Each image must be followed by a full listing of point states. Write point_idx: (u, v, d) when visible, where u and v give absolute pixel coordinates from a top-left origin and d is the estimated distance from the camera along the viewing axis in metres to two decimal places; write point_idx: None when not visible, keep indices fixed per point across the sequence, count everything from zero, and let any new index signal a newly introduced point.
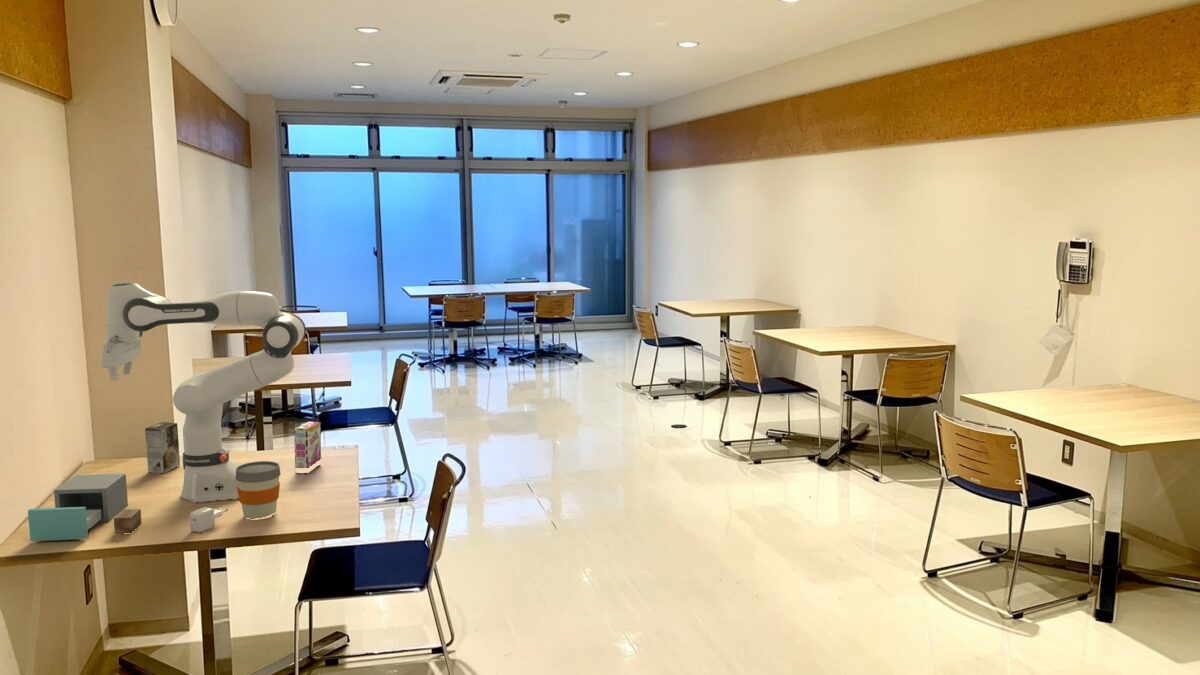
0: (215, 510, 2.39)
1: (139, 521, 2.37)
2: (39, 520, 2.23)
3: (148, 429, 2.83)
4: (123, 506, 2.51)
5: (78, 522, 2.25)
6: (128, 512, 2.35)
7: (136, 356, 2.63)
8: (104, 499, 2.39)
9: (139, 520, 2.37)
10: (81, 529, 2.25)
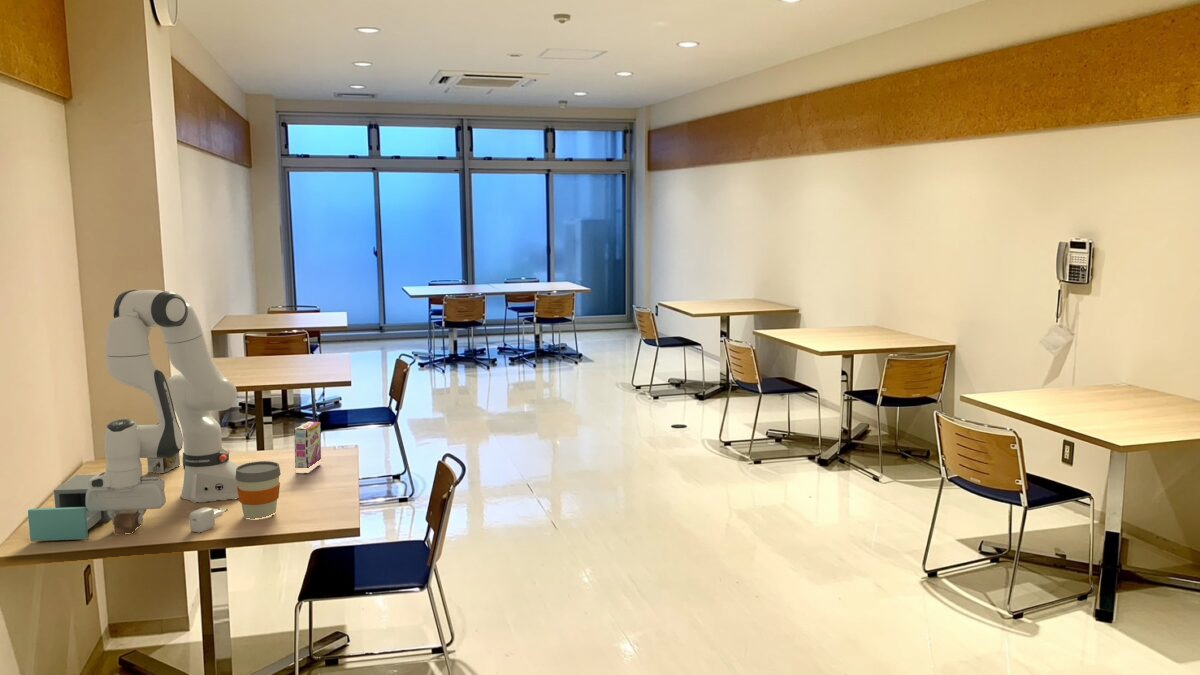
0: (215, 510, 2.39)
1: None
2: (39, 520, 2.23)
3: None
4: None
5: (78, 522, 2.25)
6: (128, 511, 2.35)
7: None
8: None
9: None
10: (81, 529, 2.25)
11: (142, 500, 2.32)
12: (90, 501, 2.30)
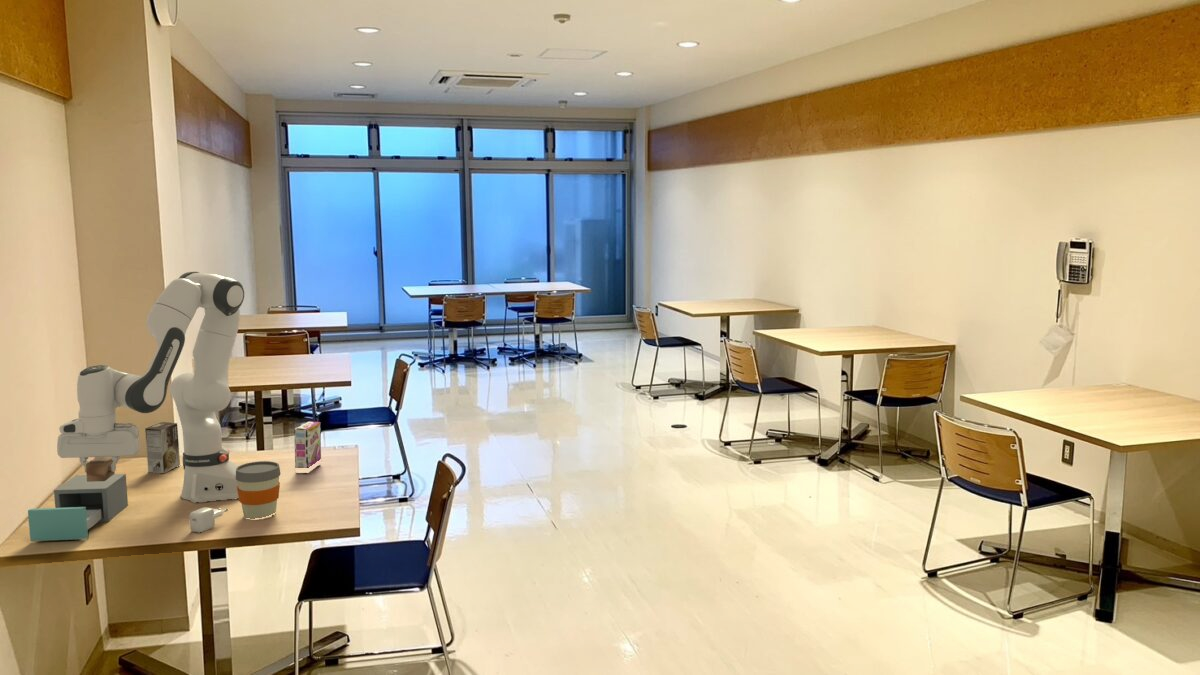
0: (215, 510, 2.39)
1: None
2: (39, 520, 2.23)
3: (148, 429, 2.83)
4: (123, 506, 2.51)
5: (78, 522, 2.25)
6: (101, 459, 2.31)
7: None
8: (104, 499, 2.39)
9: None
10: (81, 529, 2.25)
11: (115, 447, 2.29)
12: (62, 447, 2.26)
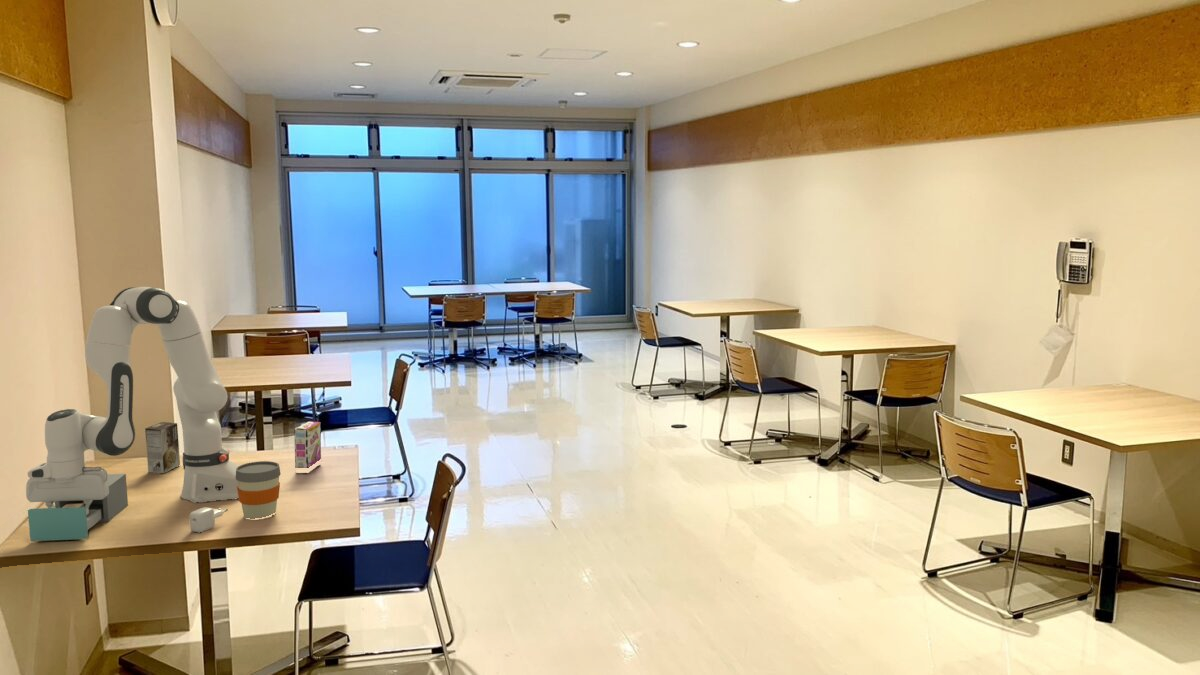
0: (215, 510, 2.39)
1: None
2: (39, 520, 2.23)
3: (148, 429, 2.83)
4: (123, 506, 2.51)
5: (78, 522, 2.25)
6: (71, 506, 2.32)
7: None
8: (104, 499, 2.39)
9: None
10: (81, 529, 2.25)
11: (84, 491, 2.30)
12: (31, 492, 2.27)
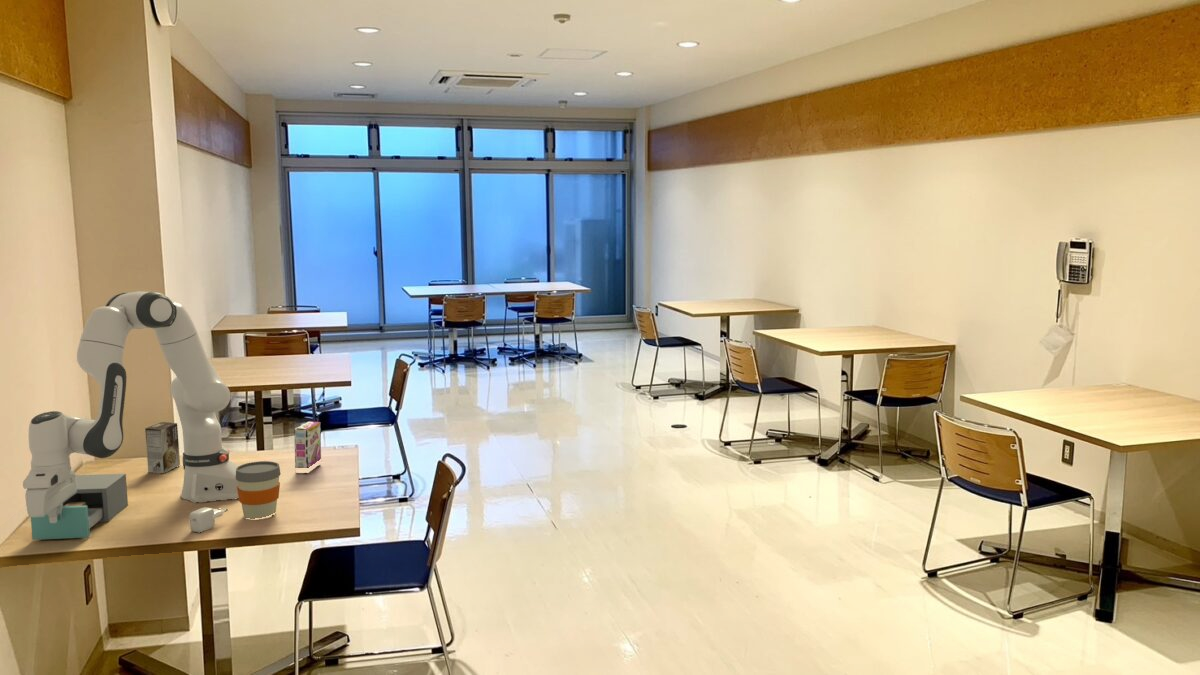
0: (215, 510, 2.39)
1: None
2: (41, 519, 2.24)
3: (148, 429, 2.83)
4: (123, 506, 2.51)
5: (80, 521, 2.26)
6: (72, 505, 2.33)
7: None
8: (104, 499, 2.39)
9: None
10: (83, 528, 2.27)
11: (69, 488, 2.27)
12: (45, 504, 2.14)
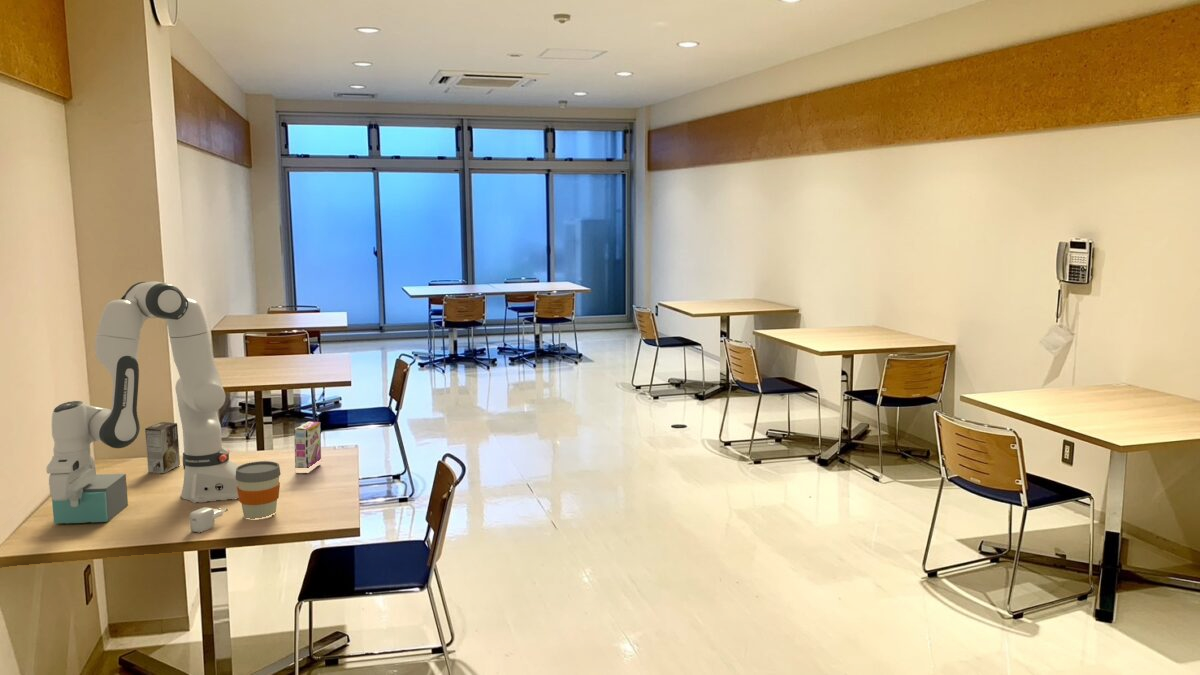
0: (215, 510, 2.39)
1: None
2: (62, 504, 2.36)
3: (148, 429, 2.83)
4: (123, 506, 2.51)
5: (99, 506, 2.38)
6: None
7: None
8: None
9: None
10: (102, 512, 2.38)
11: (88, 474, 2.39)
12: (67, 488, 2.26)
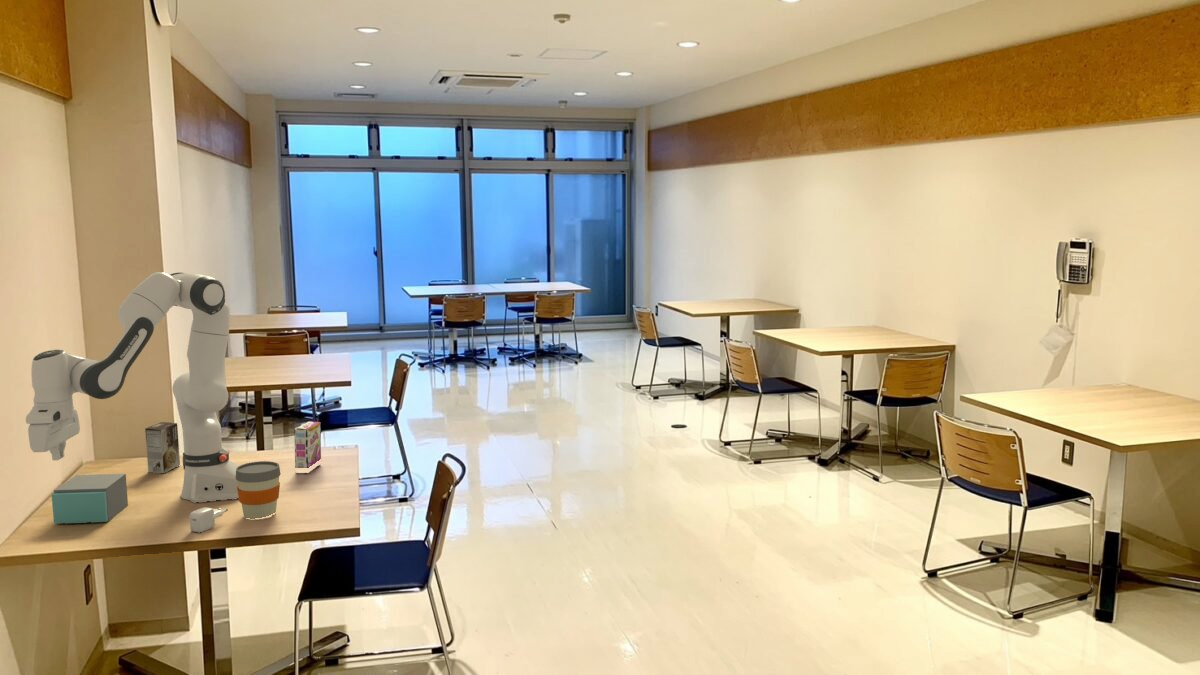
0: (215, 510, 2.39)
1: None
2: (62, 504, 2.36)
3: (148, 429, 2.83)
4: (123, 506, 2.51)
5: (99, 506, 2.38)
6: None
7: None
8: None
9: None
10: (102, 512, 2.38)
11: (71, 427, 2.29)
12: (48, 439, 2.16)
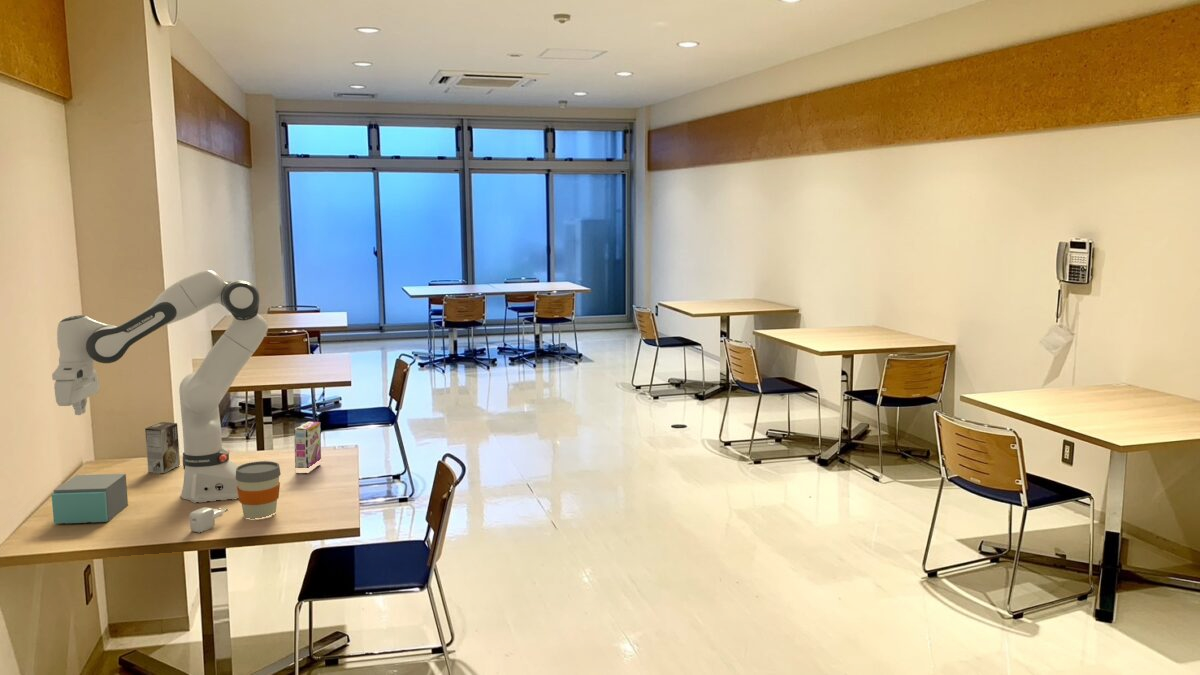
0: (215, 510, 2.39)
1: None
2: (62, 504, 2.36)
3: (148, 429, 2.83)
4: (123, 506, 2.51)
5: (99, 506, 2.38)
6: None
7: None
8: None
9: None
10: (102, 512, 2.38)
11: (92, 386, 2.53)
12: (72, 395, 2.40)
